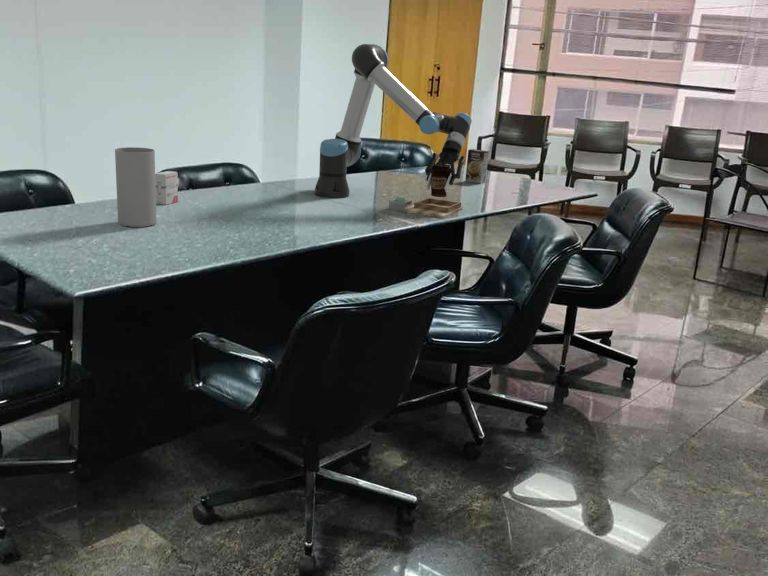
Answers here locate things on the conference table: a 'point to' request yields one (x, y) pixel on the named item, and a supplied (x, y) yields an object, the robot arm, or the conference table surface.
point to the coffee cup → (439, 179)
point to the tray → (434, 207)
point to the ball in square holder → (399, 204)
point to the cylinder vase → (136, 186)
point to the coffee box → (477, 166)
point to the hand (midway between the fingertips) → (436, 189)
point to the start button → (400, 199)
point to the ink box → (166, 187)
